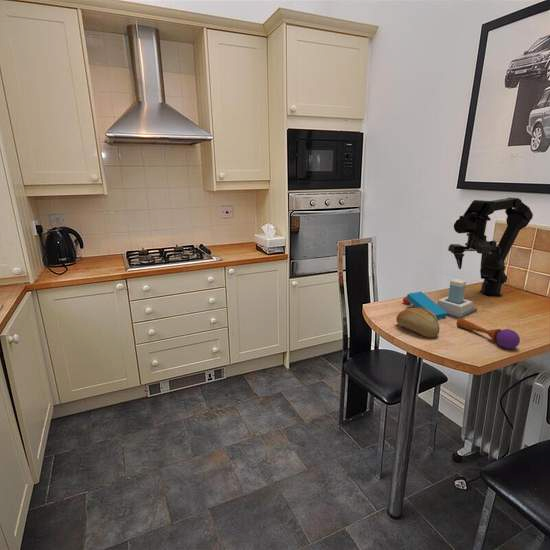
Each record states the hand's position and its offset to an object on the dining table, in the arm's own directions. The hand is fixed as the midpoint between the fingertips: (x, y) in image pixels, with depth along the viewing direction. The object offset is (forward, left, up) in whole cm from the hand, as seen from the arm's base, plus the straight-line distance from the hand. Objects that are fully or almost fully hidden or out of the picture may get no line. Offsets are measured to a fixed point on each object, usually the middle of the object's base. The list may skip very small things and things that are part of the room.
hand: (470, 269), depth 150 cm
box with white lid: (+12, +14, -12) cm, 22 cm away
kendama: (+13, +37, -14) cm, 42 cm away
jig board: (+12, +14, -13) cm, 23 cm away
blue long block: (+25, +14, -14) cm, 31 cm away
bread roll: (+33, +32, -13) cm, 48 cm away
